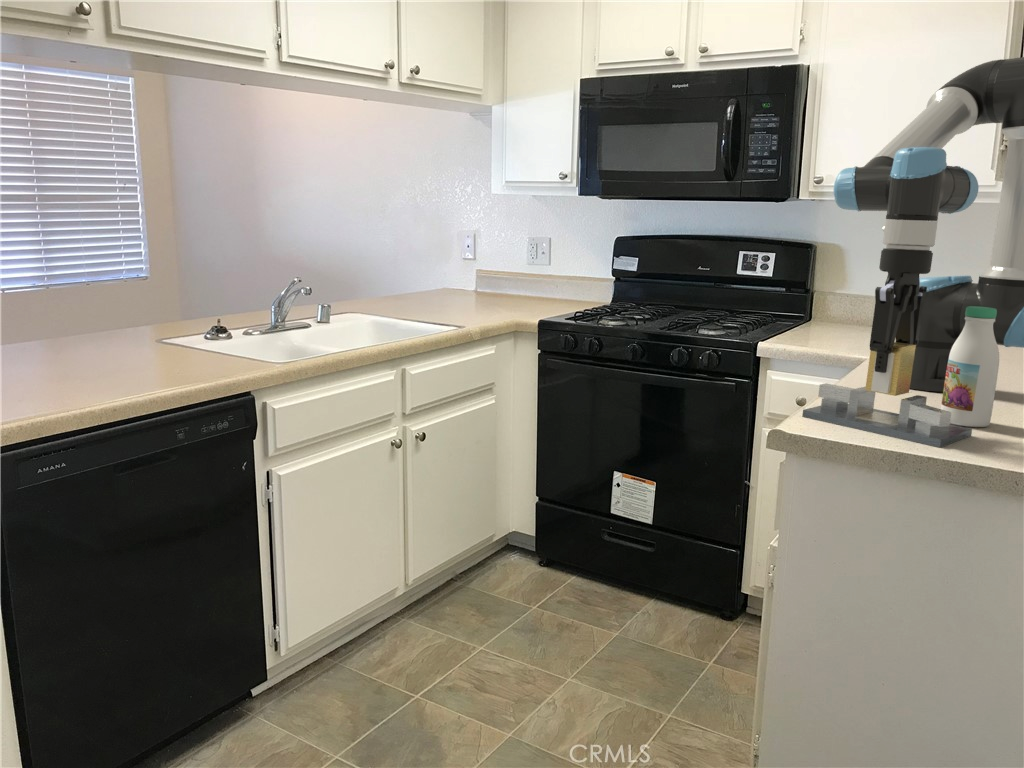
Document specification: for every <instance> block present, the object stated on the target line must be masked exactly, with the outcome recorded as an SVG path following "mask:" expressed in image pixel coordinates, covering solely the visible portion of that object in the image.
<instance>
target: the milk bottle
mask: <svg viewBox="0 0 1024 768" xmlns="http://www.w3.org/2000/svg"><path fill="white" fill-rule="evenodd" d="M996 315H997V309H995V308H989V307H977V306H969V307H967V308H966V311H965V318H964V319H965V320H966V322H965V326H964V328H963V330H962V332H961V334H960V335H959V337H958V338H957V340H956V341H955V343H954V344H953V346H952V349H951V351H950V355H949V359H948V365H947V371H946V377H945V383H944V390H943V392H942V396H941V397H942V398H941V399H942V400H941V405H940V409H942V410H945V411H949V412H952V413H951V420H950V424H951V425H956V426H961V427H966V428H987V427H989V425H990V423H991V419H992V414H993V407H994V403H995V401H994V400H995V396H996V395H995V394H996V388H997V382H998V374H999V369H1000V368H999V367H1000V349H999V345H997V343H996V340H995V336H994V331H993V323H994V322H995V318H996Z"/></svg>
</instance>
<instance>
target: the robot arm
mask: <svg viewBox="0 0 1024 768" xmlns="http://www.w3.org/2000/svg"><path fill="white" fill-rule="evenodd" d="M985 124H1001V130H1000V131H1001V133H1002V134H1003V135H1004V136H1005V137H1006V138H1007V140H1008V143H1007V144H1008V145H1007V151H1006V158H1005V163H1004V170H1003V176H1002V177H1003V178H1002V184H1001V190H1000V197H999V202H998V209H997V214H996V215H997V217H996V221H995V222H996V223H995V228H994V235H993V240H992V241H993V242H992V247H991V254H990V260H989V261H990V262H989V266H988V267H987V269H985V270H984V271H982V272H981V273H979V276H978V281H977V283H974V281H973V278H972V276H971V275H950V276H932V277H931V276H929V277H920V275H926V274H929V273H930V272H931V268H932V263H933V262H932V261H933V256H934V252H933V251H932V250H930V248H932V247H934V246H935V244H936V236H937V230H938V220H939V213H940V214H948V215H951V214H954V213H955V214H956V213H960V212H963V211H965V210H967V209H968V208H970V206H972V204H974V202H975V200H976V199H977V196H978V193H979V181H978V178H977V177H976V175H975V174H974V173H973V172H972V171H971V170H968V169H966V168H964V167H961V166H959V165H954V166H953V165H948V164H947V151H946V150H945V149H944V147H945V146H946V145H947V144H948V143H950V142H951V140H952V139H953V138H955V136H956V135H960V134H963V133H965V132H967V131H968V130H970V129H971V128H972V127H974V126H979V125H985ZM833 196H834V200H835V203H836V205H837V206H838V207H839V208H841V210H847V211H857V212H862V211H863V212H869V211H870V212H873V211H874V212H886V215H885V222H884V223H885V224H884V226H883V227H882V231H883V238H882V243H883V245H886V247H885V248H884V247H883V248H882V250H881V252H880V259H879V270H880V271H881V272H884V273H885V272H886V273H887V277H886V280H885V282H884V283H885V284H884V286H883V287H882V286H876V287H875V289H874V290H875V291H874V298H875V303H874V304H875V305H874V309H873V310H874V311H873V316H872V318H873V319H872V325H871V332H870V338H869V339H870V340H869V350H870V351H876V357H875V364H874V372H873V379H872V387H871V391H877V392H882V393H881V394H883V393H889V392H890V385H891V377H892V370H893V363H894V355H895V354H894V353H891V352H892V350H893V346H894V342H898V343H905V344H912V345H916V348H915V354H914V361H913V368H912V375H911V382H910V388H909V389H912V390H919V391H927V392H938V393H939V392H942V393H943V390H944V383H945V377H946V371H947V365H948V359H949V355H950V351H951V349H952V346H953V344H954V343H955V341H956V340H957V338H958V337H959V335H960V334H961V332H962V330H963V328H964V326H965V322H966V320H965V319H964V318H965V311H966V308H967V307H969V306H977V307H989V308H995V309H997V315H996V318H995V322H994V323H993V331H994V336H995V340H996V343H997V346H1004V348H1012V347H1013V348H1022V349H1023V348H1024V56H1022V57H1013V58H1005V59H995V60H990V61H987V62H982V63H981V64H978V65H975V66H973V67H971V68H970V69H967V70H965V71H963V72H961V73H960V74H958V75H956V76H955V77H954V78H951V80H949V81H948V82H946V83H944V85H942V86H941V87H940V88H939V89H938V90H937V91H935V92H934V93H933V94H932V95H931V96H930V98H929V99H928V101H927V104H926V107H925V109H924V110H923V111H922V112H920V114H918V115H917V116H916V117H915V118H914V119H912V121H911V122H909V124H907V125H906V126H905V127H904V128H903V129H902V130H901V131H900V132H899V133H898V134H897V135H895V137H894V138H892V140H891V141H889V142H888V143H887V144H886V145H885V146H884V147H883V148H882V149H881V150H880V151H878V153H876V154H875V155H874V157H872V158H871V159H870V160H869V161H868V162H867V163H866V164H865V165H864V166H858V165H857V166H853V167H846V168H844V169H842V170H840V172H838V174H837V175H836V178H835V179H834V185H833ZM877 392H876V393H877Z"/></svg>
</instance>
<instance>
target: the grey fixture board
mask: <svg viewBox="0 0 1024 768" xmlns="http://www.w3.org/2000/svg"><path fill="white" fill-rule="evenodd" d="M865 388H866V385H865V386H861V387H857V388H852V387H848V386H843V385H837V384H832V383H820V384H819V388H818V398H821V403H820V405H818V406H817V405H816V406H813V407H809V408H804V409H802V417H803V418H807V419H811V420H817V421H819V422H820V421H821V422H825V423H828V424H833V423H834V425H838V426H843V427H847V428H852V429H857V430H860V431H864V432H869V433H874V434H879V435H883V436H887V437H891V438H896V439H900V440H904V441H910V442H913V443H917V444H922V445H927V446H931V447H936V448H943V447H945V446H948V445H951V444H955V443H956V442H959V441H961V440H965V439H967V438H970V437H972V433H973V428H972V427H967V426H960V425H955V424H951V423H950V420H951V413H952V412H949V411H945V410H942V409H941V408H937V407H935V406H930V405H927V397H928V396H924V395H919V394H918V395H912V396H909V397H905V398H901V400H900V404H899V406H900V407H899V413H896V412H891V411H887V410H882V409H876V408H874V406H875V400H876V399H875V398H876V392H872V391H867V390H865Z"/></svg>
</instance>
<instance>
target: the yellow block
mask: <svg viewBox="0 0 1024 768" xmlns="http://www.w3.org/2000/svg"><path fill="white" fill-rule="evenodd" d="M915 348H916V345H912V344H905V343H898V342H896V341H895V342H894V346H893V350H892V352H891V353H894V354H895V355H894V363H893V370H892V377H891V385H890V392H889V393H882V392H877V391H872V392H875V393H879V394H884V395H890V396H894V397H897V396H901V395H904V394H909V393H910V389H911V388H910V382H911V375H912V368H913V361H914V354H915ZM875 357H876V351H870V353H869V361H868V368H867V376H866V382H865V386H866V388H865V390H867V391H871V387H872V379H873V372H874V364H875Z"/></svg>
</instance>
